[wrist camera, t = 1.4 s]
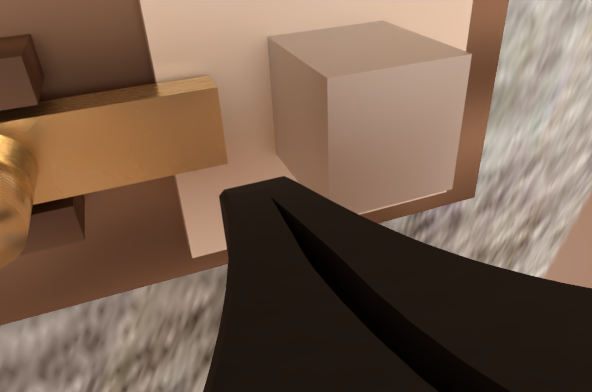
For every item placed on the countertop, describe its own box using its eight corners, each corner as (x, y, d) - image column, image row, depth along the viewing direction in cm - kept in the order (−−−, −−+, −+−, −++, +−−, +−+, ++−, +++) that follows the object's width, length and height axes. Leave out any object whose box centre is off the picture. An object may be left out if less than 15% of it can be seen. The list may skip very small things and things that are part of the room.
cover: (432, 181, 22) (522, 251, 17) (187, 242, 18) (220, 348, 14) (467, -110, 16) (617, -117, 11) (118, -91, 13) (137, -90, 8)
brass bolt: (218, 147, 16) (256, 214, 12) (-24, 196, 14) (-59, 290, 10) (208, 75, 14) (247, 126, 11) (-61, 116, 12) (-115, 194, 9)
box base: (454, 182, 24) (511, 224, 21) (-101, 325, 18) (-142, 419, 14) (505, -163, 17) (605, -180, 14) (-420, -144, 10) (-651, -169, 7)
